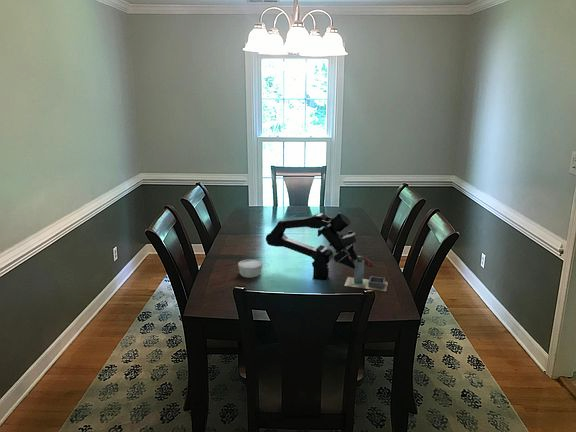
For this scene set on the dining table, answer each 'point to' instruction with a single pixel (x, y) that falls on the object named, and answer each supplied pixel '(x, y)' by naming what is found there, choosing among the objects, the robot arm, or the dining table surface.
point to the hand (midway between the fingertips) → (356, 264)
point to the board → (350, 279)
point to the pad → (358, 284)
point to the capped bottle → (359, 270)
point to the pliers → (366, 261)
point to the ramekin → (250, 268)
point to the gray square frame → (376, 282)
